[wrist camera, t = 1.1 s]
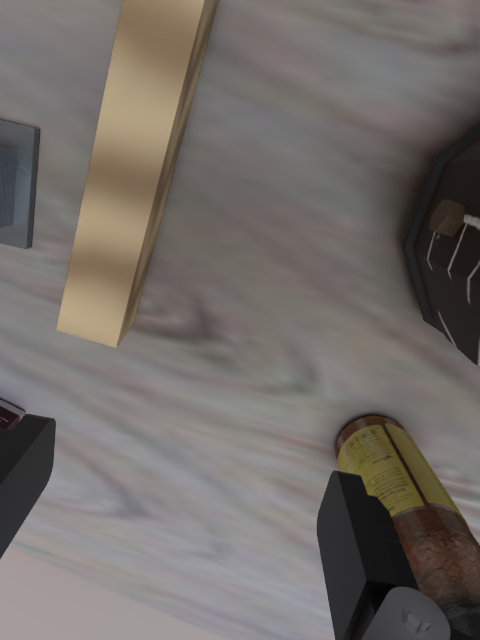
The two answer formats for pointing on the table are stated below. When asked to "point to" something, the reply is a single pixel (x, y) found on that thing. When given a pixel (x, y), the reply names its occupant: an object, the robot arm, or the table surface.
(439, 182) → the black chalkboard bucket
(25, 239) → the fulcrum
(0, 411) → the supplement box
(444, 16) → the table surface
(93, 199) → the oak bar
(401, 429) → the sauce bottle
